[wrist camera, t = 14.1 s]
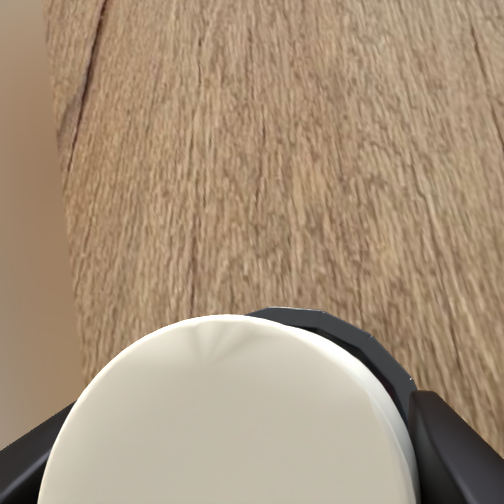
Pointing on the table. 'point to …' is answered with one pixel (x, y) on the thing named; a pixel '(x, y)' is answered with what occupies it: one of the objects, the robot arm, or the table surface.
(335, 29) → the table surface
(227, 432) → the pill bottle
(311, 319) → the holder
